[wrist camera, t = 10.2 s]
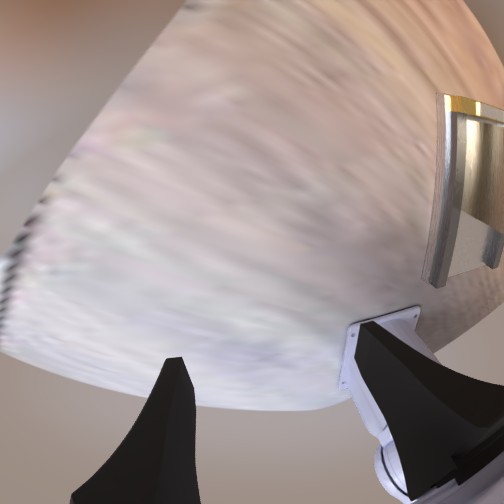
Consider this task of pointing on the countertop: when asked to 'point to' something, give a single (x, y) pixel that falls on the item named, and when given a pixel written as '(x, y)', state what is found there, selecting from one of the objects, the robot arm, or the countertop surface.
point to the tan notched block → (487, 175)
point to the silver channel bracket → (458, 195)
